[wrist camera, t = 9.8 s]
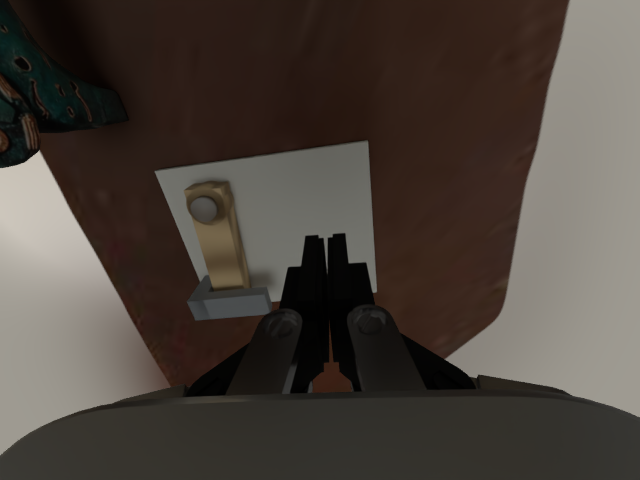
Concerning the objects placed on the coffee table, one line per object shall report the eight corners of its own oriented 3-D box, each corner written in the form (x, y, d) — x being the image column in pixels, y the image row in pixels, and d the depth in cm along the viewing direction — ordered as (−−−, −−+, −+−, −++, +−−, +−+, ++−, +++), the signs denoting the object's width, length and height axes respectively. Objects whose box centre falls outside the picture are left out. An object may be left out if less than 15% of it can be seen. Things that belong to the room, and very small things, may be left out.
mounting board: (158, 169, 33) (123, 185, 27) (367, 140, 30) (375, 150, 25) (212, 303, 42) (194, 335, 36) (376, 288, 39) (383, 320, 34)
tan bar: (191, 181, 32) (176, 191, 29) (229, 179, 32) (218, 189, 28) (225, 300, 40) (216, 318, 37) (255, 299, 40) (249, 317, 36)
